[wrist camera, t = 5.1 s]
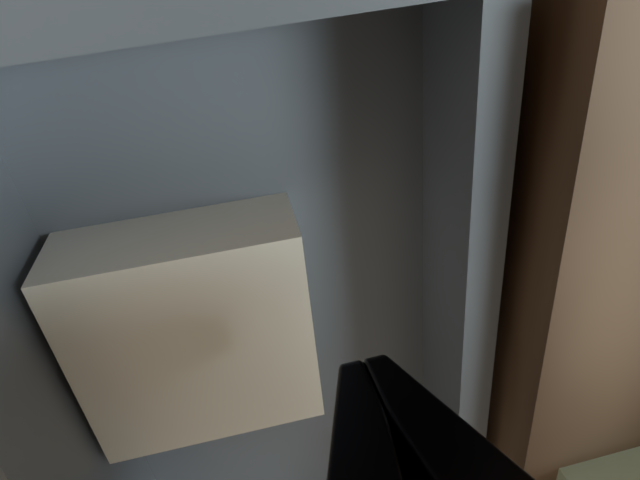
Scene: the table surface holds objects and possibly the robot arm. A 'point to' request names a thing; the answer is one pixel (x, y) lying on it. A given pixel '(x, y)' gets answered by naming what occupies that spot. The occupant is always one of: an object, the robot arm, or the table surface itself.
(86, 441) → the box
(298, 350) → the cream tile
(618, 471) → the sage tile
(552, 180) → the taupe pedestal platform
